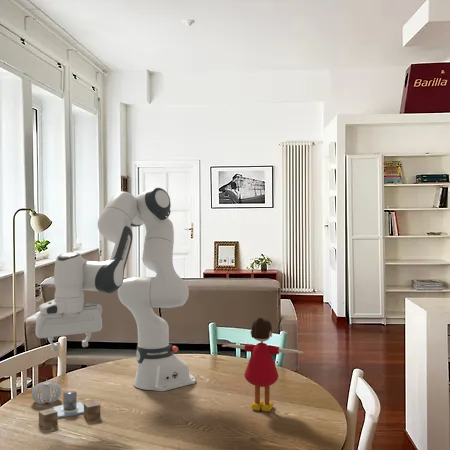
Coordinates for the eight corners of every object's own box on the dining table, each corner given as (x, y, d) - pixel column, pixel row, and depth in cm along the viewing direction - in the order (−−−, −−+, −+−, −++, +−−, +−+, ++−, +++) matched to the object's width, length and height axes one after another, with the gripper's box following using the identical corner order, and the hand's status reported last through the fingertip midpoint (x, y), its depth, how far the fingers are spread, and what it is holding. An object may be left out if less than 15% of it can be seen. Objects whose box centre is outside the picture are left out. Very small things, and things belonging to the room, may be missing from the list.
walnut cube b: (51, 421, 160) (51, 408, 160) (57, 425, 157) (57, 411, 157) (38, 424, 157) (38, 411, 157) (44, 428, 154) (44, 415, 154)
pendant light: (52, 407, 171) (51, 314, 170) (25, 405, 172) (24, 313, 172) (66, 397, 180) (65, 309, 179) (41, 395, 182) (40, 308, 181)
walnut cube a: (96, 413, 166) (96, 400, 166) (100, 417, 162) (100, 405, 162) (83, 416, 164) (83, 403, 164) (87, 420, 161) (87, 407, 160)
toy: (305, 409, 169) (306, 315, 169) (299, 422, 159) (299, 322, 158) (226, 399, 178) (227, 310, 177) (215, 411, 168) (215, 316, 167)
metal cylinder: (77, 409, 167) (77, 393, 167) (64, 411, 165) (64, 395, 165) (75, 405, 171) (74, 389, 170) (62, 407, 169) (62, 391, 169)
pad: (80, 403, 174) (80, 401, 174) (87, 413, 166) (87, 410, 166) (52, 408, 170) (52, 406, 170) (58, 418, 162) (58, 416, 162)
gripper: (99, 300, 175) (99, 341, 175) (34, 306, 165) (34, 350, 165) (104, 303, 169) (105, 346, 170) (37, 309, 159) (38, 355, 160)
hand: (70, 348), depth 168 cm, fingers open, 8 cm apart
